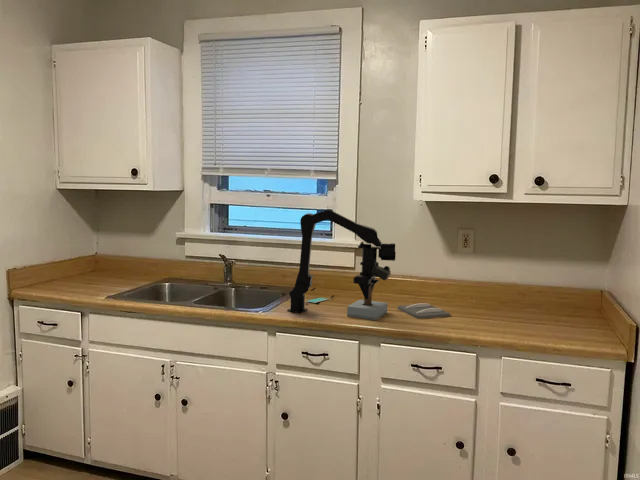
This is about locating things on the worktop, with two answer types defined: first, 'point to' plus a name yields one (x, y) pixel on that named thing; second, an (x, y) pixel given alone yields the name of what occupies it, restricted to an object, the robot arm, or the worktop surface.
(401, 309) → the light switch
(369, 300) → the dowel
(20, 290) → the worktop surface
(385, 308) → the hole block
